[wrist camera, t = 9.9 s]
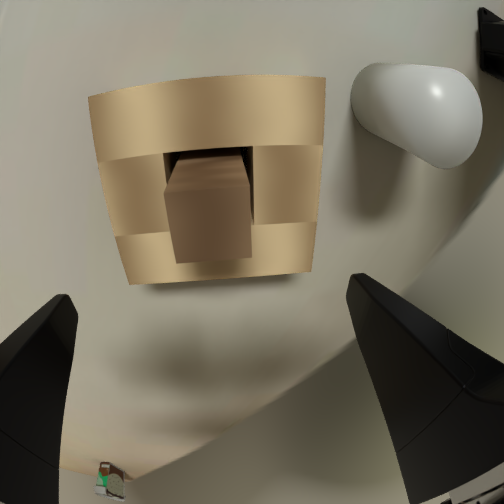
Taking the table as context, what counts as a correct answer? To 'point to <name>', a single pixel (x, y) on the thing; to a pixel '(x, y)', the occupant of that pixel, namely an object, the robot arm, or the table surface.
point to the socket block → (204, 137)
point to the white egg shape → (420, 110)
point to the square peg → (209, 206)
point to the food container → (110, 482)
